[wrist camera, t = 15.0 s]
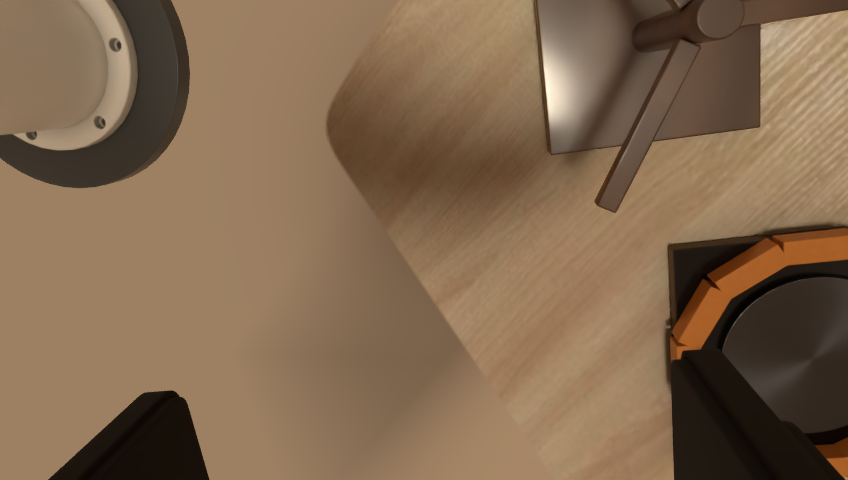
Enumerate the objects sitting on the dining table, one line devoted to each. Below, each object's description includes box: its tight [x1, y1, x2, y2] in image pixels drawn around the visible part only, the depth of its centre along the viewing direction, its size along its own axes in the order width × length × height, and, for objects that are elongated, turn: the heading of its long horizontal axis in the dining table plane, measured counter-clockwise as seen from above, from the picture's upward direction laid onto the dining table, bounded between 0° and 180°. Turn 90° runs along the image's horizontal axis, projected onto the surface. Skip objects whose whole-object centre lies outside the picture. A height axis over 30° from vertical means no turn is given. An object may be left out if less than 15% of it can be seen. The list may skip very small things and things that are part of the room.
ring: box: [670, 228, 848, 477], centre depth 35 cm, size 16×16×2 cm
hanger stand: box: [534, 0, 848, 213], centre depth 27 cm, size 15×16×12 cm
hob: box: [668, 226, 848, 445], centre depth 36 cm, size 16×16×2 cm
